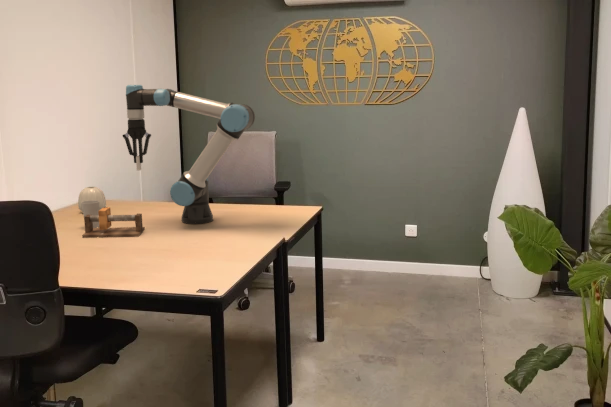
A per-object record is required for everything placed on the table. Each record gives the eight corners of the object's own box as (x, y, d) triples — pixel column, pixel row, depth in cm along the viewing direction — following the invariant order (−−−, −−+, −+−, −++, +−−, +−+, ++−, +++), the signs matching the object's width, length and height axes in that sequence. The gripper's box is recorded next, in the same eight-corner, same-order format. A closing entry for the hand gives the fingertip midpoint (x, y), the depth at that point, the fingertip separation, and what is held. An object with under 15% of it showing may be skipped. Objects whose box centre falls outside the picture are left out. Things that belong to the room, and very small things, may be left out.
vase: (77, 215, 312) (75, 189, 310) (80, 210, 326) (78, 185, 323) (105, 214, 315) (103, 188, 313) (107, 209, 329) (106, 184, 326)
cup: (95, 229, 280) (93, 203, 278) (79, 228, 282) (77, 203, 280) (104, 225, 288) (102, 200, 286) (89, 224, 289) (87, 200, 287)
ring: (111, 225, 274) (110, 207, 273) (106, 229, 266) (105, 210, 264) (104, 225, 274) (103, 207, 273) (99, 229, 266) (98, 211, 264)
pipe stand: (144, 229, 278) (143, 211, 277) (138, 236, 265) (137, 217, 263) (91, 230, 277) (90, 212, 275) (82, 237, 263) (80, 218, 262)
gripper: (151, 118, 282) (154, 168, 286) (123, 118, 281) (126, 169, 286) (148, 119, 275) (151, 170, 279) (119, 119, 274) (122, 171, 278)
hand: (139, 170), depth 282 cm, fingers closed
